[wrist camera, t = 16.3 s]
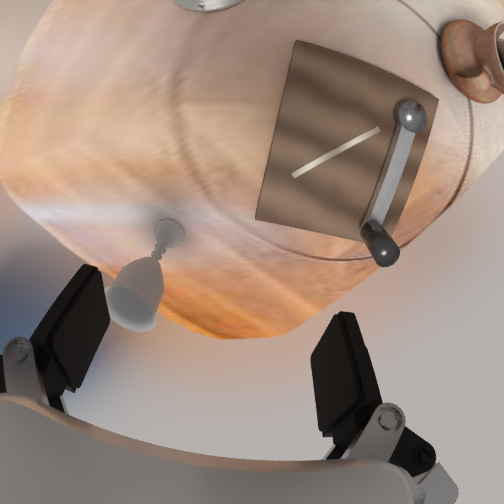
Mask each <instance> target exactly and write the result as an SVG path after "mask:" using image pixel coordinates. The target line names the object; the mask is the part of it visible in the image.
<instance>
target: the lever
mask: <svg viewBox="0 0 504 504" xmlns="http://www.w3.org/2000/svg"><path fill="white" fill-rule="evenodd" d="M394 117H395V121H396V123H397V126H396V130H395V133H394V136H393V139H392V143H391V146H390V149H389V152H388V155H387V158H386V161H385V164H384V167H383V170H382V173H381V176H380V178H379V181H378V184H377V187H376V189H375V192H374V195H373V197H372V200H371V203H370V205H369V208H368V210H367V213H366V215H365V218H364V220H363V223H362V225H361V228H360V230H359V231H360V235H361V238H362V239H363V241H364V243H365V244H366V246H367V248H368V249H369V251H370V253H371V254H372V256H373V258H374V260H375V261H376V263H377V264H378V265H379V266H381V267H388V266H390V265H393V264H394V263H395V262H396V261H397V259H398V258H399V255H400V250H399V247H398V246H397V245H396V243H395V242H394V241H393V239H392V238H391V237H390V235H389V234H388V233H387V231H386V230H385V229H384V228H383V226H382V223H383V221H384V218H385V216H386V214H387V211H388V209H389V206H390V204H391V201H392V199H393V196H394V194H395V191H396V189H397V186H398V183H399V181H400V178H401V175H402V172H403V170H404V167H405V164H406V161H407V158H408V155H409V152H410V149H411V146H412V143H413V140H414V136H415V133H418V132H420V131H422V130H423V129H424V128H425V126H426V123H427V114H426V111H425V109H424V107H423V106H422V105H421V104H419V103H418V102H415V101H407V100H404V101H401V102H399V103H398V104H397V105H396V107H395V110H394Z"/></svg>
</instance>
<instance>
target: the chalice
mask: <svg viewBox="0 0 504 504" xmlns="http://www.w3.org/2000/svg"><path fill="white" fill-rule="evenodd" d="M155 235H156V241H157V242H158V244H156V245H155V250H156V251H153V252H152V253H151V256H152V257H144V258H141V259H137V260H135V261H133V262H131V263H130V264H128V265H126V266H124V267H123V268H122V270H121V271H120V273H119V274H118V276H117V278H116V279H115V281H114V282H113V284H112V285H111V286H109V287H107V288H105V289H104V291H105V296H106V301H107V305H108V310H109V314H110V318H112V319H113V320H114V321H115V322H116V323H118V324H119V325H121V326H123V327H125V328H127V329H129V330H133V331H137V332H146V331H149V330H152V329H153V328H154V327H155V326H156V322H157V319H156V311H157V308H158V306H159V303H160V301H161V298H162V296H163V292H164V283H163V275H162V270H161V266H160V264H159V262H158V260H161V258H162V255H161V254H163V253H165V252H166V248H172V247H175V246H177V245H179V244H180V243H181V242H182V241H183V239H184V231H183V228H182V227H181V225H180V224H179V223H178V222H176V221H174V220H172V219H164V220H161V221H160V222H158V224H157V225H156V228H155Z"/></svg>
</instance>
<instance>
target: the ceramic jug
mask: <svg viewBox="0 0 504 504" xmlns="http://www.w3.org/2000/svg"><path fill="white" fill-rule="evenodd" d="M503 32H504V22H499V23H496V24H494V25H492V26H491V27H489V28H488V29H487V30H486V31H484V30H483V29H482V28H481V27H479V26H478V25H476V24H474V23H472V22H469V21H466V20H455V21H452V22H450V23H449V24H448V25H447V26H446V27H445V28H444V30H443V32H442V36H441V42H440V47H441V54H442V59H443V62H444V65H445V68H446V70H447V72H448V75H449V76H450V78H451V80H452V82H453V83H454V84H455V85H456V86H457V88H458V89H459V90H460V91H461V92H462V93H463V94H464V95H466V96H467V97H469V98H470V99H472V100H474V101H476V102H479V103H491V102H493V101H495V100H497V99H498V98H499V97H500V96H501V95H502V94H504V40H503V39H499V36H500V35H501V34H502V33H503Z"/></svg>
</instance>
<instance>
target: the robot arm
mask: <svg viewBox="0 0 504 504" xmlns="http://www.w3.org/2000/svg"><path fill="white" fill-rule="evenodd" d="M172 1H173V2H174V3H175V4H177V5H178V6H180V7H182V8H184V9H186V10H190V11H194V12H215V11H220V10H224V9H227V8H230V7H232V6H234V5H236V4H239V3H240V2H242V1H243V0H172ZM203 6H204V8H201V7H203ZM109 324H110V314H109V310H108V305H107V301H106V296H105V291H104V286H103V280H102V274H101V272H100V271H98V268H97V267H95V266H91V265H87V264H84V265H82V266H81V268H80V269H79V270H78V271H77V272H76V274H75V275H74V277H73V278H72V279H71V280H70V282H69V283H68V284H67V286H66V287H65V288H64V290H63V291H62V292H61V294H60V295H59V296H58V297H57V299H56V300H55V302H54V303H53V305H52V306H51V307H50V309H49V310H48V312H47V313H46V315H45V316H44V318H43V319H42V321H41V322H40V324H39V325H38V327H37V329H36V330H35V331H34V333H33V335H32V336H31V338H30V339H27V338H26V337H22V336H18V337H14V338H12V339H11V340H9V341H8V342H7V343H6V345H5V347H4V350H3V354H2V355H0V504H454V503H455V502H456V500H457V498H458V488H457V485H456V484H455V483H454V481H453V480H452V479H451V477H450V476H449V475H448V473H447V472H446V471H445V470H444V468H443V467H442V466H441V464H440V463H439V462H438V463H435V461H436V453H435V450H434V448H433V446H431V445H430V444H429V443H428V442H426V441H425V440H424V439H422V438H421V437H419V436H418V435H417V434H415V433H414V432H412V431H411V430H410V429H408V428H407V427H406V426H405V416H404V413H403V411H402V410H401V409H400V408H399V407H398V406H397V405H395V404H393V403H382V398H381V395H380V391H379V387H378V384H377V380H376V376H375V373H374V369H373V366H372V363H371V360H370V356H369V353H368V350H367V348H366V346H365V344H364V341H363V337H362V334H361V331H360V328H359V325H358V322H357V319H356V316H355V314H354V313H350V312H343V311H340V312H339V313H338V314H335V315H334V316H333V318H332V320H331V322H330V323H329V325H328V327H327V329H326V330H325V332H324V334H323V336H322V337H321V339H320V341H319V342H318V344H317V346H316V348H315V349H314V351H313V353H312V355H311V369H312V376H313V385H314V393H315V401H316V410H317V419H318V428H319V430H320V431H321V432H322V434H323V437H333V443H334V444H333V446H332V447H331V448H330V450H329V451H328V452H327V454H326V455H325V456H324V458H323V459H322V460H313V461H265V460H247V459H235V458H226V457H218V456H210V455H203V454H197V453H191V452H186V451H181V450H176V449H171V448H167V447H162V446H158V445H154V444H151V443H147V442H143V441H139V440H136V439H132V438H129V437H126V436H123V435H120V434H116V433H114V432H111V431H108V430H105V429H102V428H100V427H97V426H94V425H92V424H89V423H87V422H84V421H82V420H79V419H77V418H75V417H72V416H70V415H69V414H68V411H67V408H66V405H65V402H64V398H63V392H64V390H65V389H66V390H68V391H71V392H73V393H75V390H76V388H80V386H81V385H82V382H83V380H84V378H85V375H86V373H87V371H88V368H89V366H90V363H91V362H92V360H93V357H94V355H95V353H96V351H97V349H98V347H99V345H100V342H101V340H102V338H103V336H104V334H105V332H106V330H107V328H108V326H109Z"/></svg>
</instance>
